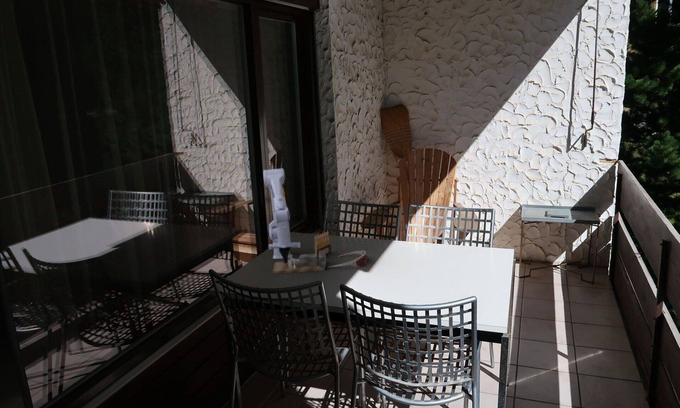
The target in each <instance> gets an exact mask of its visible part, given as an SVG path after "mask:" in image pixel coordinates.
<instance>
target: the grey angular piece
mask: <svg viewBox="0 0 680 408" xmlns="http://www.w3.org/2000/svg"><path fill="white" fill-rule="evenodd" d="M287 262H288V267H289V268H290V269H292V265H293V263H295V262H300V259H299V258H293V254H290V255H289V257H288V260H287Z"/></svg>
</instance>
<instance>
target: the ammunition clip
mask: <svg viewBox="0 0 680 408" xmlns="http://www.w3.org/2000/svg"><path fill="white" fill-rule="evenodd" d="M331 246H332V245H331V242H330V235H329V231H328V230H326V231H324V232H322V233H320V234H317V235H315V236H314V254H317V260H319V250H325V253H326V257H328V256H330V255H332V247H331Z"/></svg>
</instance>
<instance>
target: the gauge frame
mask: <svg viewBox="0 0 680 408" xmlns="http://www.w3.org/2000/svg"><path fill="white" fill-rule="evenodd" d="M326 257H327V256H326V253H325V250H319V260H317V254H315V253H309V254H308V253H307V254H299V257H298V259H300V262H295V267H296V268H295V269H294V267H293V266H294V263H293V265H292V269H290V268H289V267H288V261H287V263H284V261H278V262H277V261H275V262H274V264H273V268H272V275H274V274H290V273H291V274H292V273H306V272H307V273H308V272H309V273H310V272H323V271H326V268H327V258H326Z"/></svg>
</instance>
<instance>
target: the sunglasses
mask: <svg viewBox="0 0 680 408" xmlns="http://www.w3.org/2000/svg"><path fill="white" fill-rule="evenodd" d="M348 255H361V256H358V258H357V257H356V258H355V259H354V260H353V259H352V260H350V261H348V262H347V261H346V262H344V263H340V264H336V265H329V266H327V268H332V269H333V268H335V267H344V266H349V265H350V266H351V265H352V266H353V267H355V268H361V267H363V266H365V264H366V263H367V260H368V259H367V257H368V256H367V252H366V251H365V250H357V251H352V252H347V253H344V254H341V255H340V254H339V255H337V257H344V256H348Z"/></svg>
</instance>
